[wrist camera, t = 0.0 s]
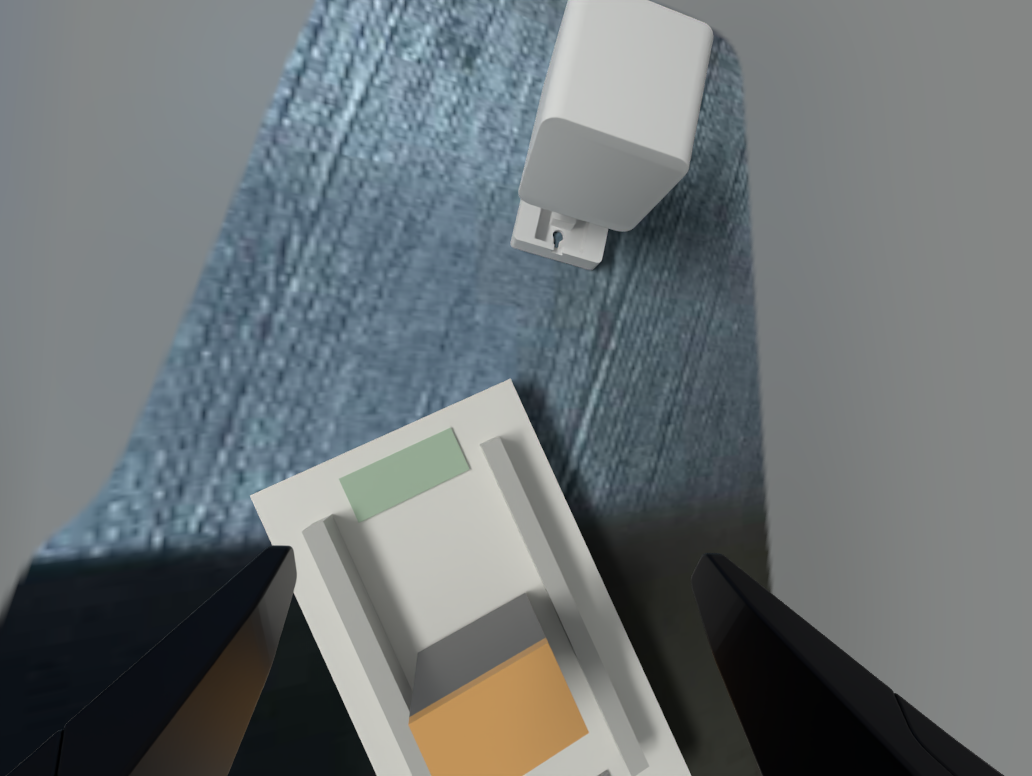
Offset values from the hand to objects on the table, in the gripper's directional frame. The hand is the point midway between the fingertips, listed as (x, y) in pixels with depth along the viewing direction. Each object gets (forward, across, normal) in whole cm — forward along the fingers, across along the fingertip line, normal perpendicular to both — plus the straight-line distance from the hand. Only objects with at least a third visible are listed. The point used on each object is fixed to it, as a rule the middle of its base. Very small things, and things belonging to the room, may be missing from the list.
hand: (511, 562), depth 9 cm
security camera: (+22, -4, -6) cm, 23 cm away
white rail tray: (+8, -1, +15) cm, 17 cm away
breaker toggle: (+6, -1, +14) cm, 16 cm away
